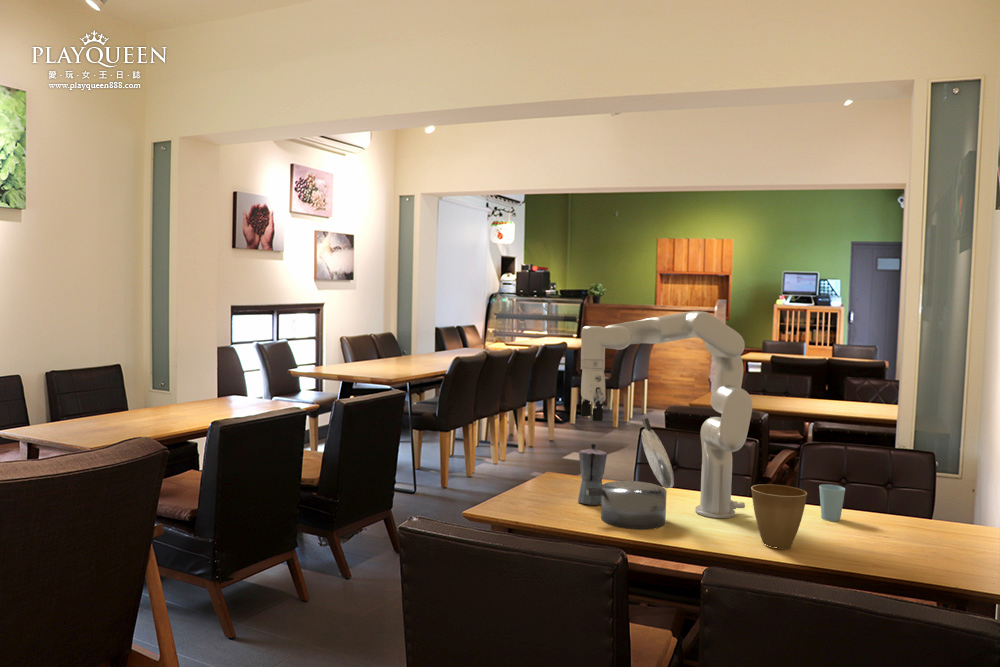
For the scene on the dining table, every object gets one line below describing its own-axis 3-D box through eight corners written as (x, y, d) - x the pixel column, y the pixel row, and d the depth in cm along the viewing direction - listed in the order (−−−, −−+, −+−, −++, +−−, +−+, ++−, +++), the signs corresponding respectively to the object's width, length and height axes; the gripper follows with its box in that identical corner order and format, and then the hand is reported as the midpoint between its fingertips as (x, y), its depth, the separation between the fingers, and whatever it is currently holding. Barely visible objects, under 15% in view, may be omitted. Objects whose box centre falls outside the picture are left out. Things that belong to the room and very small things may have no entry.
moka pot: (604, 497, 255) (606, 441, 254) (606, 510, 239) (608, 449, 238) (577, 496, 255) (579, 440, 255) (577, 508, 240) (579, 448, 239)
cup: (830, 523, 231) (831, 490, 231) (812, 516, 238) (813, 485, 238) (849, 521, 233) (850, 489, 233) (831, 515, 241) (832, 483, 240)
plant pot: (816, 549, 205) (818, 493, 204) (780, 557, 197) (783, 498, 197) (772, 534, 218) (775, 481, 217) (737, 540, 210) (740, 486, 210)
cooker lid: (653, 480, 239) (662, 476, 240) (676, 495, 220) (685, 492, 220) (632, 413, 237) (641, 410, 238) (653, 423, 218) (662, 420, 218)
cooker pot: (652, 510, 240) (653, 480, 240) (675, 529, 220) (676, 496, 220) (578, 511, 236) (579, 481, 236) (595, 530, 217) (596, 497, 216)
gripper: (614, 367, 223) (613, 422, 224) (593, 362, 240) (592, 414, 241) (591, 367, 221) (590, 423, 222) (572, 362, 238) (571, 414, 239)
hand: (591, 418), depth 231 cm, fingers open, 9 cm apart
